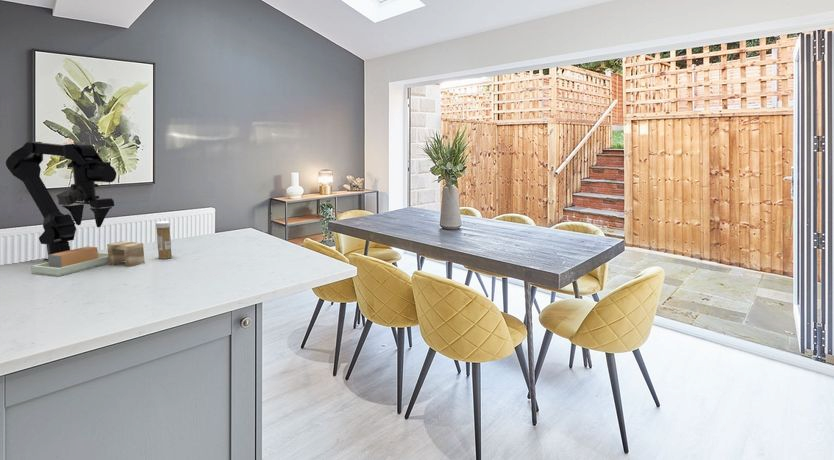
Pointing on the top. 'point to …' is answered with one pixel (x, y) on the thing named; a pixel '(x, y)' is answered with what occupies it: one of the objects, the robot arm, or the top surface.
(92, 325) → the top surface
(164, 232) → the sprinkles bottle
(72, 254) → the orange rectangular block
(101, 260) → the tray
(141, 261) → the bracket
